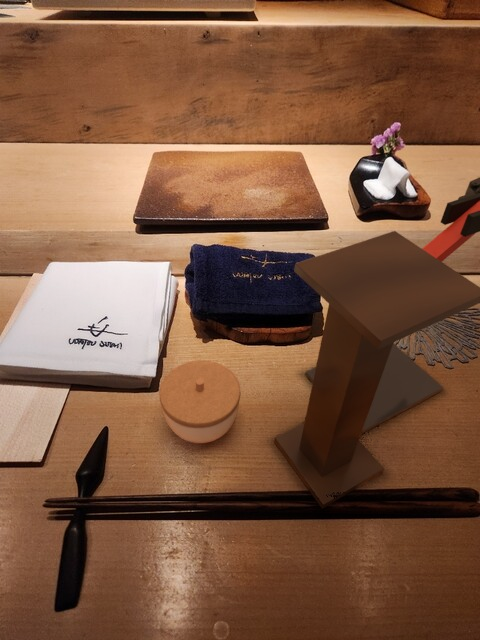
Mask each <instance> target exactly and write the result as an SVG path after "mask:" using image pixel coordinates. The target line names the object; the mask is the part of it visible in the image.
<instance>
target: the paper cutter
mask: <svg viewBox="0 0 480 640" xmlns="http://www.w3.org/2000/svg"><path fill="white" fill-rule="evenodd" d="M315 369H316V366H315V367H313V368H311V369H307V370H306V371H305V372H304V376H305V377H306V378H307V379H308V380H309V381H310V382H311V384H313V379H314V374H315ZM443 390H444V387H443V386H442V385H441V384H440V383H439V382H437V380H435V379H434V377H432V376H431V375H429V373H428V372H426V371H425V370H424V369H423V368H422V367H421V366H420V365H418V364H417V363H416V362H415V361H414V360H413V359H412V358H411V357H410V356H408V355H407V354H406V353H405V352H404V351H402V349H401V348H399V347H398V346H397V345H396V344H395V343H393V346H392V349H391V351H390V354H389V357H388V360H387V363H386V365H385V368H384V371H383V374H382V377H381V379H380V382H379V385H378V388H377V391H376V393H375V396H374V399H373V402H372V405H371V407H370V410H369V413H368V416H367V419H366V421H365V424H364V427H363V430H362V433H361V435H363V434H365V433H366V432H368V431H371V430H372V429H374V428H376V427H377V426H379V425H381V424H383V423H385V422H387V421H389V420H391V419H393V418H395V417H397V416H398V415H400V414H401V413H404V412H405V411H407V410H409V409H411V408H413V407H415V406H417V405H418V404H420V403H422V402H424V401H426V400H428V399H430V398H431V397H434V396H435V395H438V394H439V393H440V392H442V391H443Z"/></svg>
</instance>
